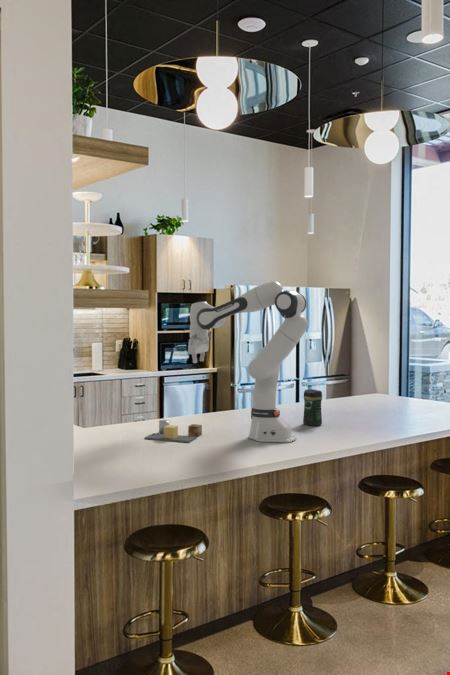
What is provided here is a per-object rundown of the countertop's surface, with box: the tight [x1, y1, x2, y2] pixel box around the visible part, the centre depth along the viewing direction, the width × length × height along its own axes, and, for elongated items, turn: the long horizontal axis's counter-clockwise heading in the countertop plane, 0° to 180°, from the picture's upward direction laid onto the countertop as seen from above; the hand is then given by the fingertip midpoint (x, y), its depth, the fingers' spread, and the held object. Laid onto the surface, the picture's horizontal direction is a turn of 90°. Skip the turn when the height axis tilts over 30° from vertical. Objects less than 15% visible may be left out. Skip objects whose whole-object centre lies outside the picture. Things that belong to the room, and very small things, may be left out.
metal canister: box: [158, 419, 170, 434], centre depth 314 cm, size 5×5×6 cm
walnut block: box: [187, 423, 203, 438], centre depth 310 cm, size 5×5×5 cm
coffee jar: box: [302, 389, 323, 427], centre depth 340 cm, size 10×8×19 cm
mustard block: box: [164, 424, 179, 439], centre depth 302 cm, size 5×5×5 cm
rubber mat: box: [144, 432, 198, 444], centre depth 302 cm, size 22×10×1 cm, turn 72°
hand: (198, 362), depth 320 cm, fingers open, 8 cm apart
